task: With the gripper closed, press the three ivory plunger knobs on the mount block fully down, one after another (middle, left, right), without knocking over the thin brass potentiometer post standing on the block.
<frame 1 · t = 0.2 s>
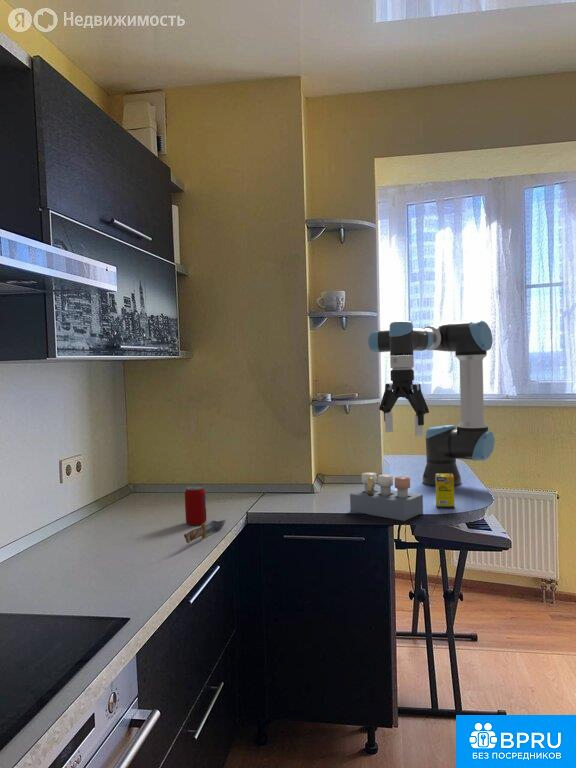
hand: (403, 433, 190), 27 cm above the table, fingers open, 13 cm apart
pot post: (370, 495, 195), point 6 cm above the table, touching mount
knob c: (402, 490, 191), point 8 cm above the table, slide at 0.0 cm
knob b: (385, 488, 196), point 8 cm above the table, slide at 0.0 cm
mount: (386, 511, 196), on the table
knife: (207, 538, 175), on the table
supplement box: (445, 507, 200), on the table
beverage can: (196, 523, 191), on the table
knob a: (369, 485, 200), point 8 cm above the table, slide at 0.0 cm
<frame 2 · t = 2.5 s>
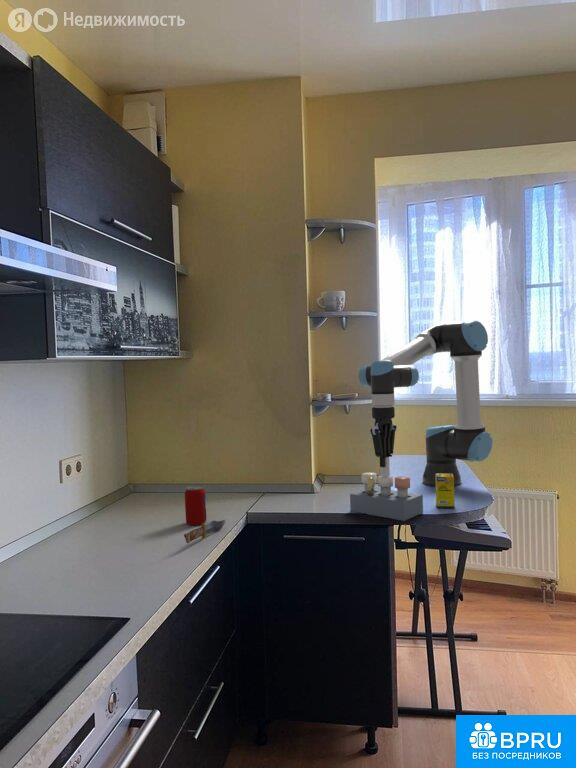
hand: (384, 476, 195), 12 cm above the table, fingers closed
knob b: (385, 488, 196), point 8 cm above the table, slide at 0.3 cm, touching gripper
everything else where it was.
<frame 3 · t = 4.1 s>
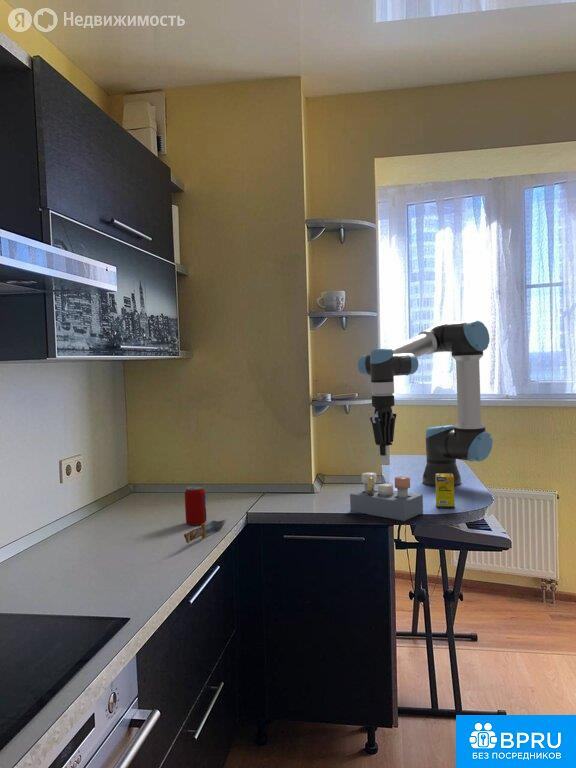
hand: (385, 464, 195), 16 cm above the table, fingers closed
knob b: (385, 497, 196), point 5 cm above the table, slide at 3.2 cm
everything else where it was.
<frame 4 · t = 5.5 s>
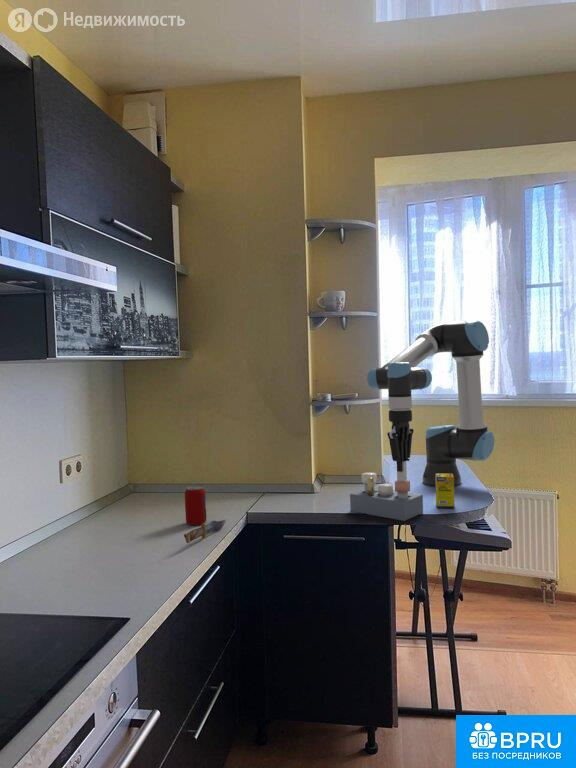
hand: (401, 480, 191), 11 cm above the table, fingers closed
knob c: (402, 493, 191), point 7 cm above the table, slide at 1.1 cm, touching gripper
everything else where it was.
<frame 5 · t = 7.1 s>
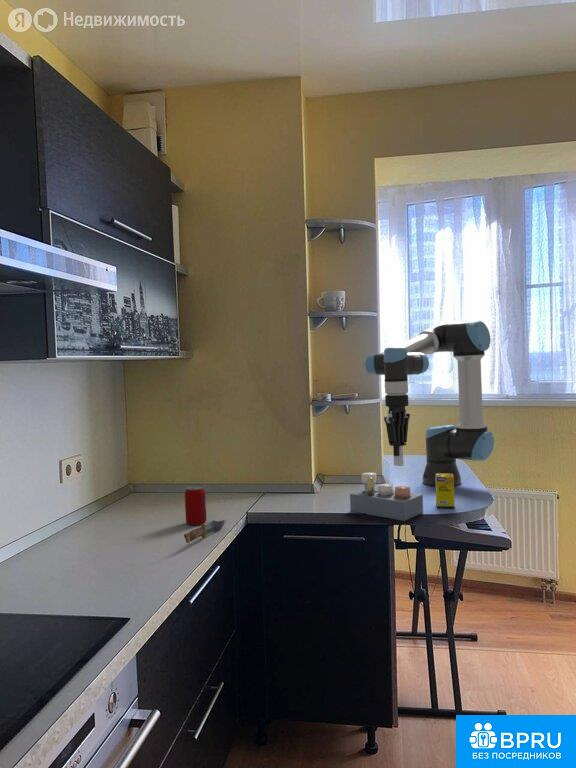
hand: (398, 465, 192), 16 cm above the table, fingers closed
knob c: (402, 499, 192), point 5 cm above the table, slide at 3.2 cm
everything else where it was.
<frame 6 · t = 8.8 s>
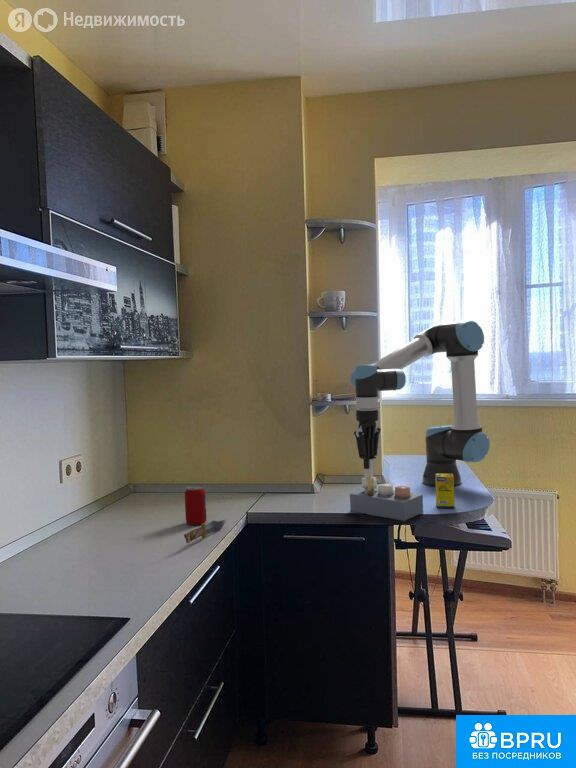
hand: (368, 477, 200), 11 cm above the table, fingers closed
knob a: (369, 490, 200), point 7 cm above the table, slide at 1.5 cm, touching gripper
everything else where it was.
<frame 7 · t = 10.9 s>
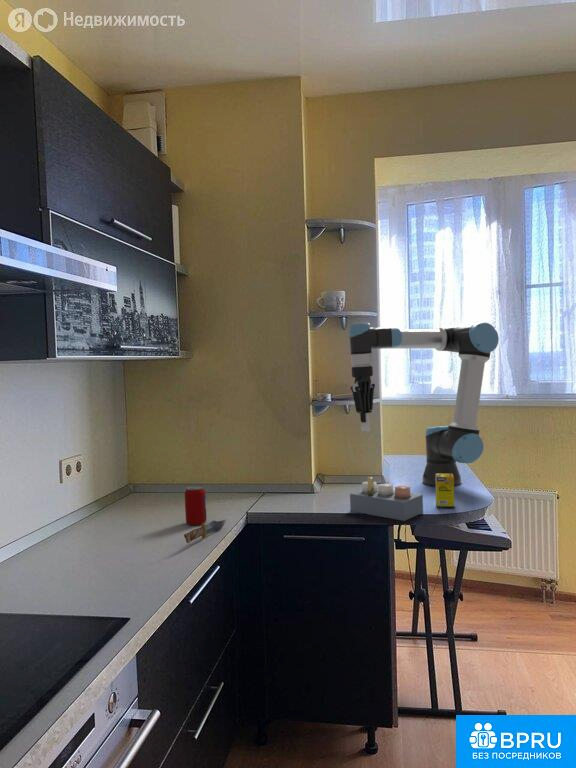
hand: (365, 430, 210), 26 cm above the table, fingers closed
knob a: (369, 494, 200), point 5 cm above the table, slide at 3.2 cm
everything else where it was.
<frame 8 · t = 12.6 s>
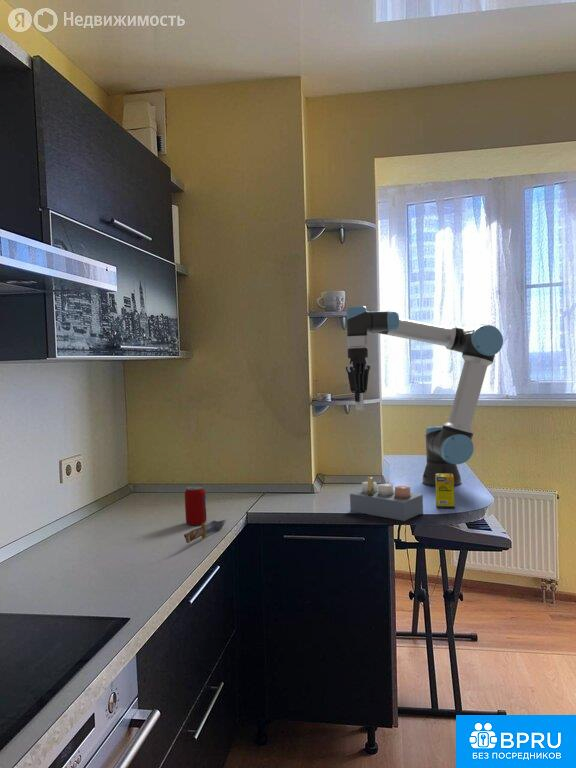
hand: (359, 410, 219), 32 cm above the table, fingers closed
nothing on the table moved.
at the end: knob a slide at 3.2 cm; knob b slide at 3.2 cm; knob c slide at 3.2 cm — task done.
